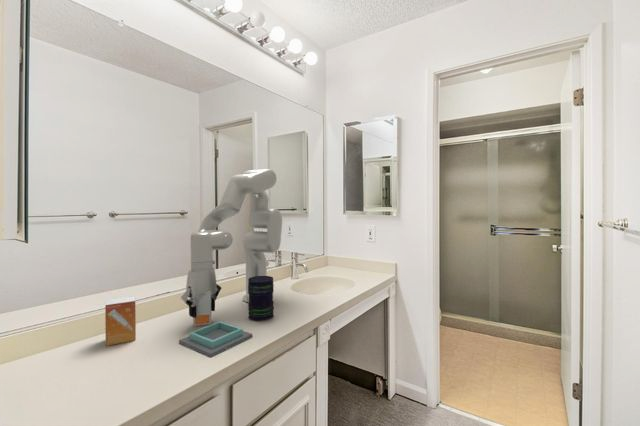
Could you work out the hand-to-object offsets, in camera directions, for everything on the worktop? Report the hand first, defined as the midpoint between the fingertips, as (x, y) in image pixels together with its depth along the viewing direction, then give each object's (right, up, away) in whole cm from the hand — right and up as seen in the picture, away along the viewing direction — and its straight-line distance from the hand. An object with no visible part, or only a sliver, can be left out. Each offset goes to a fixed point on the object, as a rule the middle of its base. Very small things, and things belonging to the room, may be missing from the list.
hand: (202, 313), depth 111 cm
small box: (-21, -4, -13) cm, 25 cm away
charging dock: (+10, -4, -14) cm, 17 cm away
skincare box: (0, -4, 0) cm, 4 cm away
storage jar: (+20, -4, +7) cm, 22 cm away
